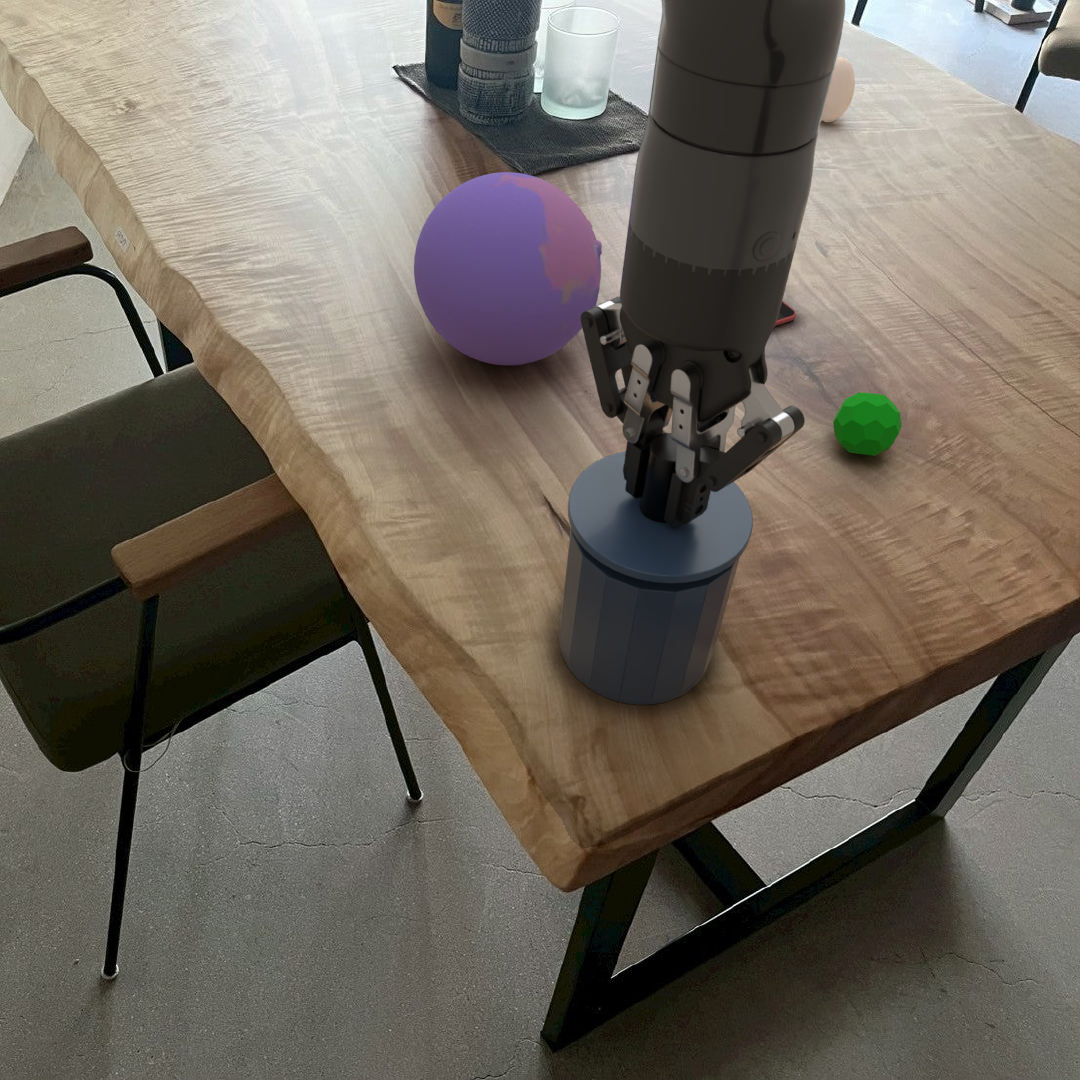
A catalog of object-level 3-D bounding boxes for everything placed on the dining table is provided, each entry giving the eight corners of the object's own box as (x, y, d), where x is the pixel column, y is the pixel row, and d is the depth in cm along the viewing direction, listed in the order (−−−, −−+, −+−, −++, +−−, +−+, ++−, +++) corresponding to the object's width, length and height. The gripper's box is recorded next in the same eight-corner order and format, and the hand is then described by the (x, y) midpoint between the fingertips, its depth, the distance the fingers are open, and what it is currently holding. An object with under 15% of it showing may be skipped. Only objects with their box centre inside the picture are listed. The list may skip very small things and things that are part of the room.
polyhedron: (817, 429, 84) (833, 381, 81) (874, 424, 85) (891, 377, 82) (842, 471, 81) (859, 422, 77) (900, 465, 82) (920, 417, 78)
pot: (741, 652, 68) (776, 538, 60) (634, 732, 63) (657, 619, 55) (635, 564, 73) (655, 449, 65) (527, 632, 68) (536, 517, 60)
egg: (837, 133, 124) (854, 69, 119) (800, 122, 125) (815, 58, 120) (850, 119, 127) (867, 56, 121) (814, 109, 128) (830, 46, 123)
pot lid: (786, 534, 60) (810, 458, 56) (659, 621, 54) (675, 544, 50) (656, 441, 65) (669, 365, 61) (529, 512, 60) (534, 435, 56)
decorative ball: (615, 390, 86) (637, 224, 76) (435, 413, 83) (431, 242, 72) (565, 292, 96) (578, 133, 86) (402, 308, 93) (395, 145, 82)
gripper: (894, 259, 45) (800, 544, 57) (660, 140, 52) (622, 416, 64) (782, 318, 41) (707, 609, 53) (547, 181, 48) (529, 466, 60)
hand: (661, 502), depth 59 cm, fingers closed on pot lid, 2 cm apart
